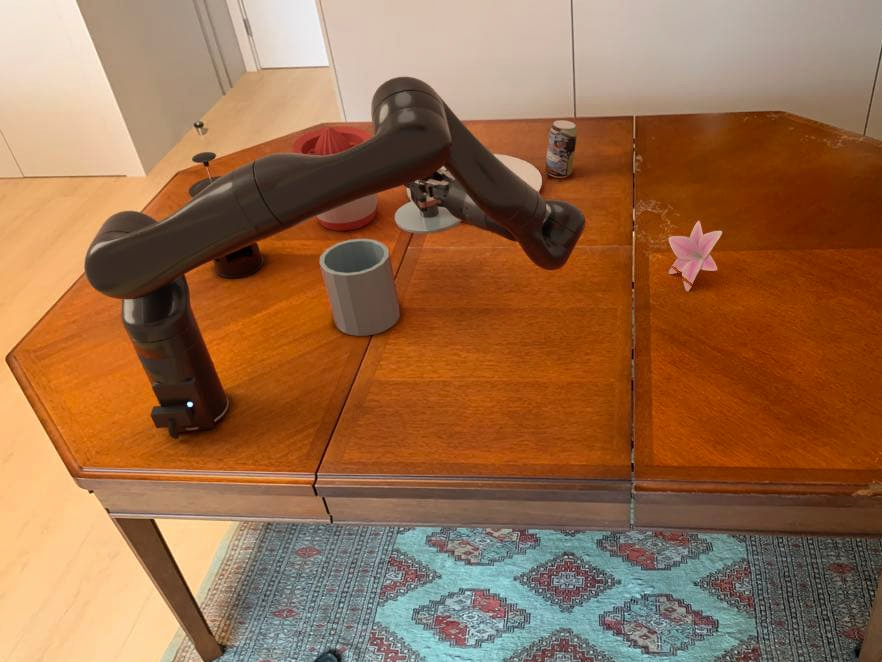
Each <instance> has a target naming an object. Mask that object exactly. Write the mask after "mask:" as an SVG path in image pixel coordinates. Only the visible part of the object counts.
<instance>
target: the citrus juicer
mask: <svg viewBox="0 0 882 662" xmlns="http://www.w3.org/2000/svg"><path fill="white" fill-rule="evenodd" d="M371 138H372V137H371V135H370V134H369V132H368V131H366V130H364V129H362V128H358V127H353V126H340V125H339V126H327V127H323V128H319V129H315V130H311V131H310V132H307V133H304V134H303V135H301V136H299V137H298V138H296V140H295V141H294V142H293V144H292V147H291V149H292V153H297V154H307V155H319V156H324V155H332V154H337V153H340V152H343V151H345V150H348V149H350V148H352V147H355V146H357V145H359V144H361V143H363V142H365V141H367V140H369V139H371ZM378 198H379V193H376V194H373V195H370V196H366V197H363V198H361V199H358V200H355V201H353V202H350V203H347V204H345V205H343V206H340V207H337V208H335V209H332V210H330V211H327V212H325V213H323V214H320V215H318V216H315V217H316V219H317V220H318V221H319V223H320V224H321V225H322V226H323V227H325V228H326V229H329V230H333V231H349V230H350V231H351V230H358V229H360V228H361V227H364V226H365V225H366V226H367V224H369V223H371V222H372V221H373V220H374V219H375V216H376V213H377V208H378Z"/></svg>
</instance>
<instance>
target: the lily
mask: <svg viewBox="0 0 882 662" xmlns="http://www.w3.org/2000/svg"><path fill="white" fill-rule="evenodd" d="M722 235H723V230H713V231H710V232H707V233H703V229H702V224H701V221H700V220H697V221H696V223H695V224H694V227H692V230H691V233H690V235H689V236H684V235H672V236H669V237H668V243H669V246H670V248H671V250H672V252H673V253H674V255H675V256H676V259H675V261H674V262H673V264H672V265H671V267H672V266H674V267H676V268H677V269H678V270H679V271H680V272H681V277H682V276H683V277H684V278H686V279H687V280H688V281H689V282H691V283H692V285H693V284H694V281H695V280H696V277H697V275H698V274H699V271H700V270H702V271H708V272H709V271H712V272H714V271H718V267H717V265H716V262H715V261H714V258H713V257H712V255H711V254H710V253H711V251H712V250H713V248H714V247H715V245H716V244H717V242H718V241H719V239H720V238H721V236H722ZM671 267H670V268H669V270H668V274H669V275H673V274H677V272H676V271H675V270H674V269H673V268H671ZM680 272H679V273H680ZM682 283H683V286H684V289H685V291H686V292H689V291H690V289H691V288H692V286H690V285H689V284H688V283H686V282H685V281H683V280H682Z"/></svg>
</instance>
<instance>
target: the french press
mask: <svg viewBox="0 0 882 662" xmlns="http://www.w3.org/2000/svg"><path fill="white" fill-rule="evenodd" d="M216 158H217V153H215V152H212V151H204V152H200V153H197V154H195V155H193V156H192V158H191V161H192V162H193V163H195V164H196V163H197V164H203V166H204V168H206V172H207V173H208V176H209V177H207V178H204V179H201V180H199V181H197V182H195V183H194V184H192V185H190V186H191V187H189V188H188V194H189V196H190V197H191V199H192V198H193V197H195V196H196V195H197V194H199V193H200V192H201V191H202V190H203V189H205V188H206V187H207V186H209V185H210V184H211V183H213V182H214V181H216V180H217V179H219V178H220V177H222V176H223V175H219V176H218V175H217V176H212V174H211V171H210V168H209V167H210V162H211V161H214V160H215V159H216ZM241 256H242V257H243V256H247V258H245V259H242V260H240V261H235V262H229V260H231V259H233V258H236V257H241ZM248 256H249V257H248ZM212 262H213V264H214V271H215V274H217V276H219V277H221V278H223V279H231V280H232V279H234V280H235V279H242V278H245V277H248V276H252V275H254V274H256V273H257V272H258V271H260V270H261V269H262V268H263V266H264V264H265V259H264V257H263V255H262V253H261V250H260V247H259V244H258V242H255V243H253V244H251V245H248V246H246V247H244V248H241V249H239V250H237V251H235V252H232V253H230V254H227V255H225V256H222V257H220V258H217V259H215V260H212Z"/></svg>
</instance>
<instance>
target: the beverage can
mask: <svg viewBox="0 0 882 662" xmlns="http://www.w3.org/2000/svg"><path fill="white" fill-rule="evenodd" d="M576 126H577V125H576V123H574V122H572V121H571V120H570V121H569V120H566V119H565V120H564V119H557V120H555V121H553V124H552V125H551V126H550V128H549V135H548V142H547V143H548V144H547V151H546V158H545V159H546V160H545V168H544V170H545V172H546V173H547V174H548V175H549V176H550V177H552V178H557V179H564V178H567V177H568V176H571V174H572V172H573V165H574V159H575V151H576V145H577V138H578V130H577V127H576Z"/></svg>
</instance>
